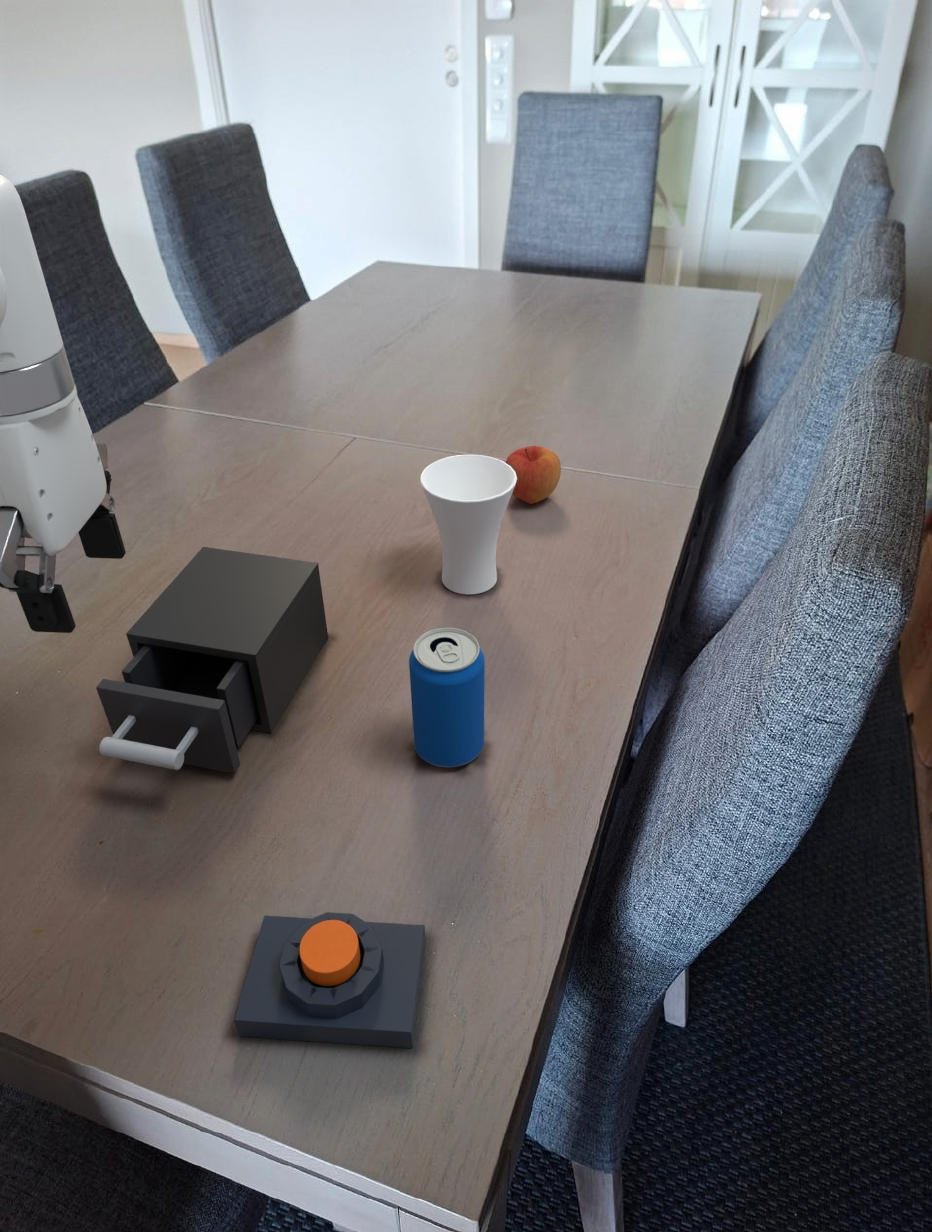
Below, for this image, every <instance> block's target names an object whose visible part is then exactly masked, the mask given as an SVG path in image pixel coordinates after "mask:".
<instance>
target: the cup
mask: <svg viewBox="0 0 932 1232" xmlns="http://www.w3.org/2000/svg"><path fill="white" fill-rule="evenodd" d="M419 480H420V481H419V482H420V485H421V488H422V490H423V493H424V496H425V497H426V500H427V503H428V504H429V507H430V510H431V513H432V515H433V518H434V521H435V523H436V526H437V530H438V534H439V538H440V542H441V551H442V570H441V582H442V584H443V586H444V587H445V588H446V589H448V590H450V591H451V592H454V593H456V594H460V595H477V594H481V593H484V592H487V591H489V590H491V589H492V588H493V587H494V586H495V585H496V584H497V581H498V571H497V562H496V556H497V546H498V539H499V533H500V529H501V524H502V522H503V520H504V516H505V514H506V511H507V508H508V505H509V502H510V500H511V497H512V495H513V493H512V492H513V490H514V487H515V484H516V481H517V476H516V472H515V471H514V470H513V469H512V467H511V466H510V465H508V464H506V461H503V460H502V459H498V458H496V457H492V456H488V455H483V454H470V453H469V454H456V455H451V456H446V457H443V458H440V459H437V460H435V461H433V462H432V463H430V464H428V465H427V466H426V467H425V468H424V469H422V473H421V474H420V479H419Z"/></svg>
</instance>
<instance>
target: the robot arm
mask: <svg viewBox="0 0 932 1232" xmlns="http://www.w3.org/2000/svg"><path fill="white" fill-rule="evenodd" d="M21 199H22V198H21V197H20V194H19V192H18V190H17V189H16V187H15V185H14V184H13V182H12V181H10V180H9V179H8V178H7V177H5V176H4V175H2V174H0V588H2V589H6V590H7V591H9V592H10V593H16V595H17V599H18V600H19V603H20V606H21V609H22V611H23V614H24V616H25V618H26V619H25V620H26V621H27V623H28V627H29V628H30V630H32V631H33V632H36V633H59V634H60V633H61V634H63V633H64V634H72V633H73V631H74V630H75V628H76V621H75V618H74V616H73V613H72V611H71V607H70V604H69V602H68V599H67V596H66V594H65V590H64V588H63V585H62V584H58V583H55V581H56V566H57V565H56V564H57V555H58V554H59V553H61V552H62V551H63V550H64V549H65V548H66V547H68V545H69V544H70V543H71V542H72V540H73V539H74V538H75V537H76V536H77V535H78V536H79V539H80V543H81V545H82V548H83V552H84V555H85V556H86V557H87V558H90V559H113V560H115V559H116V560H120V559H123V558H124V556H125V555H126V553H127V551H126V548H125V544H124V541H123V538H122V534H121V531H120V527H119V525H118V520H117V517H116V513H115V512H114V510H115V508H116V501H115V498H114V497H113V496H112V495H111V494H110V493H111V492H110V491H111V483H112V480H113V479H112V475H111V473H110V471H109V470H108V469H109V462H108V460H109V459H108V448H107V445H106V444H105V443H100V442H99V443H97V442H96V440H95V437H94V435H93V431H92V428H91V426H90V424H89V420H88V418H87V416H86V413H85V411H84V407H83V406H82V403H81V401H80V398H79V396H78V389H77V385H76V383H75V379H74V376H73V372H72V368H71V365H70V362H69V359H68V355H67V352H66V348H65V345H64V341H63V338H62V335H61V330H60V327H59V324H58V319H57V317H56V314H55V311H54V307H53V303H52V300H51V297H50V293H49V290H48V286H47V283H46V279H45V276H44V272H43V269H42V264H41V262H40V259H39V255H38V252H37V248H36V244H35V242H34V238H33V235H32V231H31V227H30V223H29V220H28V218H27V215H26V211H25V208H24V205H23V201H22V200H21ZM112 512H113V513H112ZM25 538H26V539H32V540H33V541H34V542H35V543H36V544H37V546H36V545H35V546H33V545H25V541H26V539H25ZM39 545H41V546H39ZM26 557H39V562H38V563H39V564H38V573H35V572H33V571H29V570H26Z"/></svg>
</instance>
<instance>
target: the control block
mask: <svg viewBox="0 0 932 1232" xmlns="http://www.w3.org/2000/svg"><path fill="white" fill-rule="evenodd" d="M326 920H339V921H342V922H345V923H347V924H348V925H349V926H351V927H352V928H353V929H354V931H355V932H356V934H357V937H358V942H359V949H360V962H359V966H358V968H357V970H356V971H355V973H354V974H353V975H352V976H351V977H350V978H349V979H348V980H346V981H345V982H343V983H341V984H338V985H335V986H321V985H318V984H315V983H314V982H312V981H311V980H309V979H308V977H307V976H306V975H305V973H304V970H303V967H302V962H301V958H300V953H299V948H300V943H301V940H302V938H303V936H304V935H305V933H306V932H307V931H308V930H309V929H310V928H311V927H312V926H314V925H316V924H318V923H320V922H322V921H326ZM425 926H426V925H424V924H411V923H394V922H377V921H365V920H364V919H362V918H360V917H359V916H358V915H356V914H354V913H345V912H332V911H331V912H325V913H322V914H319V915H316V916H315V917H295V916H278V915H263V919H262V922H261V925H260V929H259V933H258V936H257V940H256V943H255V946H254V950H253V954H252V957H251V959H250V960H251V961H250V964H249V968H248V970H247V974H246V977H245V980H244V981H245V982H244V985H243V988H242V991H241V995H240V999H239V1002H238V1005H237V1009H236V1013H235V1016H234V1018H233V1022H234V1024H235V1027H236V1030H237V1033H238V1035H239V1037H246V1038H248V1037H249V1038H261V1039H276V1040H290V1041H304V1042H318V1043H319V1042H320V1043H331V1044H345V1045H360V1046H362V1045H363V1046H374V1047H375V1046H377V1047H389V1048H390V1047H391V1048H404V1049H413V1048H414V1042H415V1034H416V1024H417V1016H418V1008H419V1001H420V992H421V984H422V977H423V976H422V974H423V967H424V960H425V952H426V951H425V950H426V942H427V941H426V928H425Z"/></svg>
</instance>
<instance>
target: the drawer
mask: <svg viewBox="0 0 932 1232" xmlns="http://www.w3.org/2000/svg"><path fill="white" fill-rule="evenodd" d="M121 674H122V677H123V681H119V680H112V679H107V678H103V679H102V680H101V681H100V682H99V683H98V685H96V687H95V690H96V692H97V695H98V697H99V700H100V703H101V705H102V708H103V711H104V714H105V717H106V719H107V722H108V724H109V727H110V730H111V733H112V736H105V737H103V738H102V739H101V741H100V743H99V746H98V747H99V748H98V750H99V751H98V752H99V754H100V755H101V756H104V757H108V758H114V759H119V760H123V761H129V762H135V763H139V764H143V765H150V766H154V767H159V768H165V769H168V770H169V769H170V770H175V771H179V770H180V769H181V768H182V767H183V765H189V766H193V767H194V766H195V767H200V768H205V769H209V770H215V771H220V772H225V773H230V774H236V773H237V771H238V769H239V767H240V766H241V761H240V757H239V753H238V749H240V747H241V745H242V744H243V743H244V741H245V740H246V738H247V735H249V733H250V731H251V730H250V729H251V728H252V726H253V725H254V723H255V721H256V720H257V718H258V717H259V711H258V706H257V701H256V697H255V692H254V687H253V683H252V678H251V673H250V669H249V664H248V661H244V660H238V659H232V658H226V657H220V656H215V655H209V654H203V653H197V652H191V651H185V650H179V649H173V648H167V647H161V646H155V645H149V644H144V646H143V647H142V648H141V649H140V650H139V652H138V653H137V654H136V655H135V656H134V657H132V658H131V660H130V661H129V662H128V663H127V664H126V665H125V666H124V668H123V669H122V670H121Z"/></svg>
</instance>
